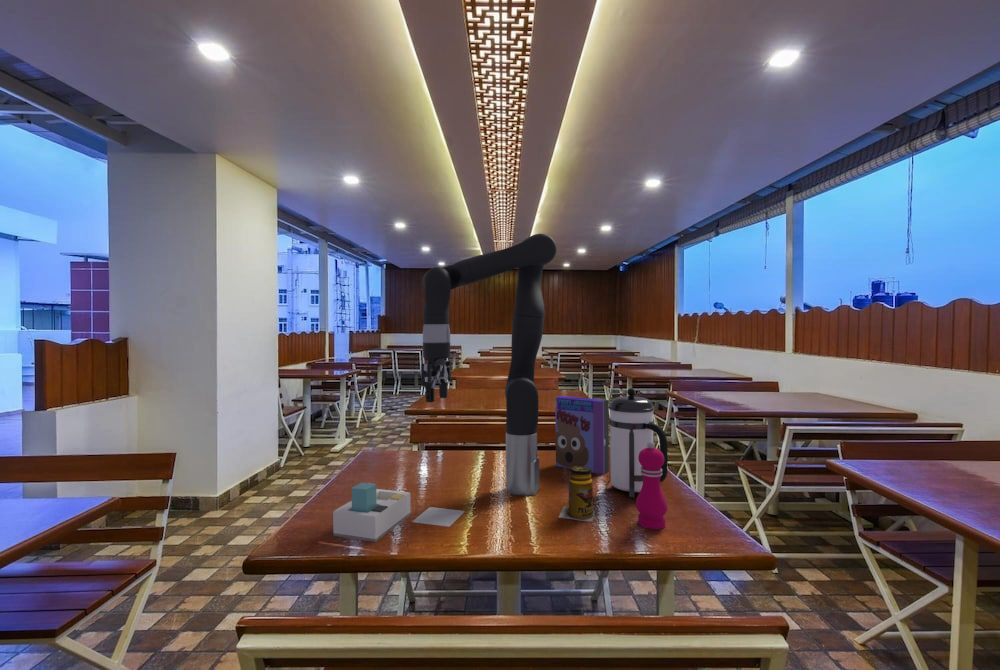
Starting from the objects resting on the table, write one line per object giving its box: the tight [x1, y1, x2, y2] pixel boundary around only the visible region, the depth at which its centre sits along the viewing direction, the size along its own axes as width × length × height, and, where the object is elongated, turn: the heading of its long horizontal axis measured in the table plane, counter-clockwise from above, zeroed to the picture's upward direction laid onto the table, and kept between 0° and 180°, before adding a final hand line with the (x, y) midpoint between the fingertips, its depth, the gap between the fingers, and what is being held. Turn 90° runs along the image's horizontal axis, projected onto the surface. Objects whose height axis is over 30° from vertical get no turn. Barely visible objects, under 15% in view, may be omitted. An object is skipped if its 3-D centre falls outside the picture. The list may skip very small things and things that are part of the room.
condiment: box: [558, 466, 596, 522], centre depth 118 cm, size 7×8×12 cm
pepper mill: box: [635, 441, 668, 530], centre depth 112 cm, size 7×7×20 cm
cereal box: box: [554, 395, 610, 476], centre depth 157 cm, size 17×5×24 cm, turn 55°
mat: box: [411, 506, 465, 528], centre depth 117 cm, size 10×10×1 cm
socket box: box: [332, 488, 411, 543], centre depth 112 cm, size 11×16×6 cm
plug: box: [351, 482, 377, 513], centre depth 108 cm, size 4×4×10 cm
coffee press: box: [605, 388, 669, 500], centre depth 134 cm, size 17×16×30 cm
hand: (437, 399), depth 127 cm, fingers open, 8 cm apart
